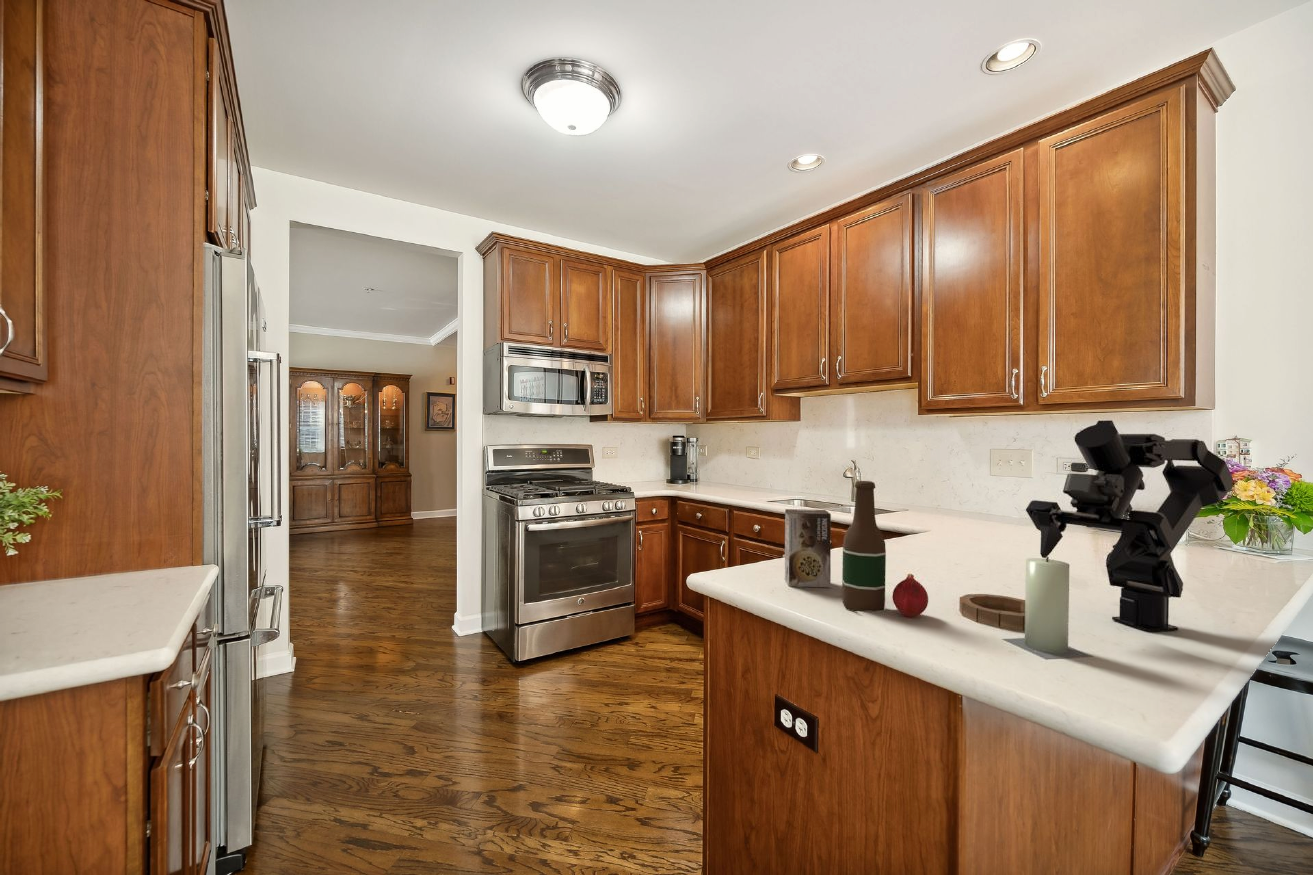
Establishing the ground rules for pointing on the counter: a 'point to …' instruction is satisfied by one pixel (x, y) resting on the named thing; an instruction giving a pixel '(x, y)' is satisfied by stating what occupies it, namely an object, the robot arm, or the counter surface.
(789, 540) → the coffee box
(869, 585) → the beer bottle
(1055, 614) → the candle
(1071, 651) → the mat
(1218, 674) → the counter surface
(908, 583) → the onion
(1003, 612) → the bowl
